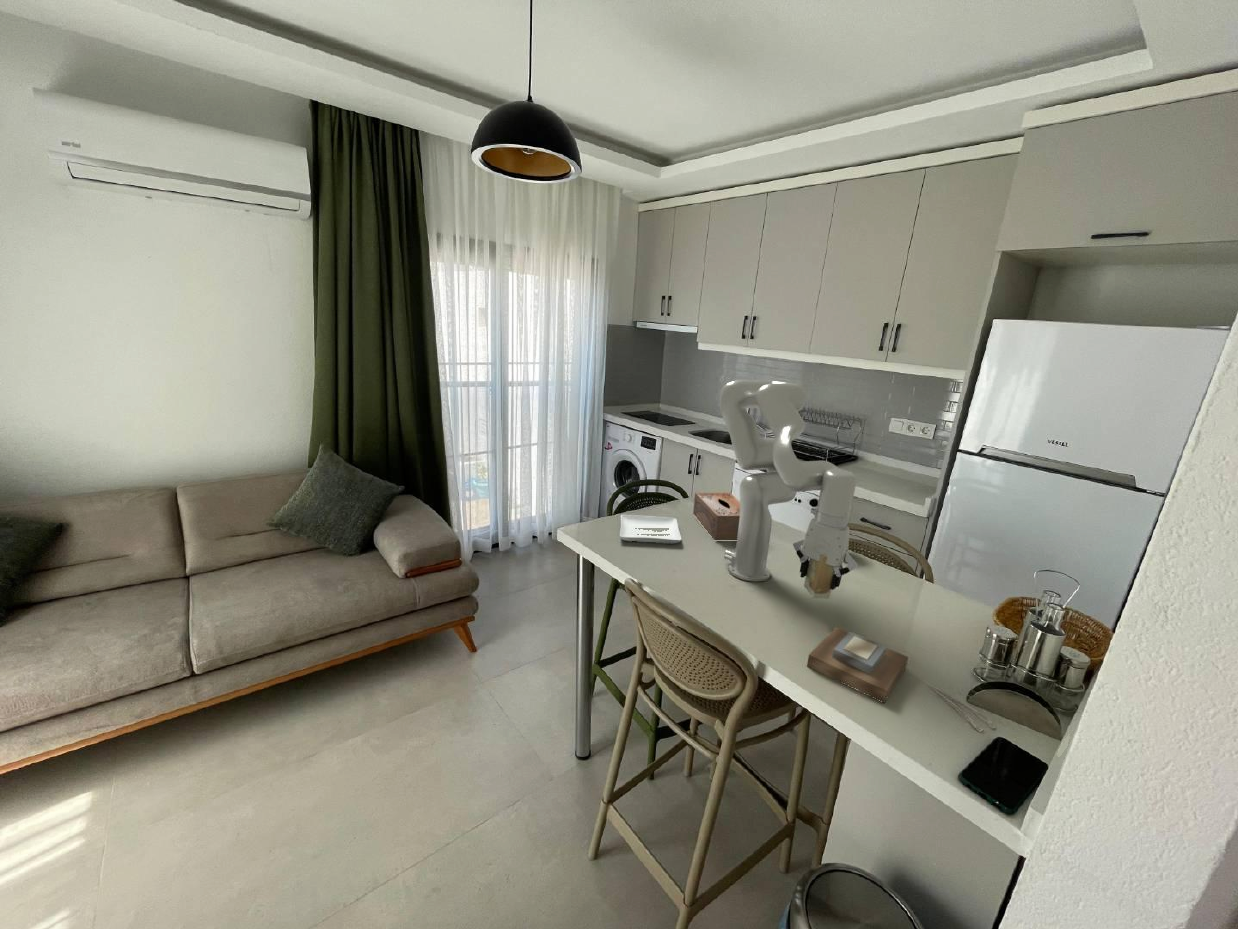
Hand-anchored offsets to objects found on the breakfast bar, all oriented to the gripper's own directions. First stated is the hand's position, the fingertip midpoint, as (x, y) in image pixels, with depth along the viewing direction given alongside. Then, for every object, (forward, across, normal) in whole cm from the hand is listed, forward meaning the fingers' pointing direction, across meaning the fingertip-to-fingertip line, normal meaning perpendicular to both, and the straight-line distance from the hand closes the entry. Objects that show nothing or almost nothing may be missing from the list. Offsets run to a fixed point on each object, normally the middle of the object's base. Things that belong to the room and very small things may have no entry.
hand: (818, 581), depth 131 cm
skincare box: (+4, 0, 0) cm, 4 cm away
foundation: (+9, +16, -14) cm, 24 cm away
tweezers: (+9, +33, -11) cm, 36 cm away
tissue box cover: (+13, -50, +36) cm, 62 cm away
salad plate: (+13, -64, +10) cm, 66 cm away
